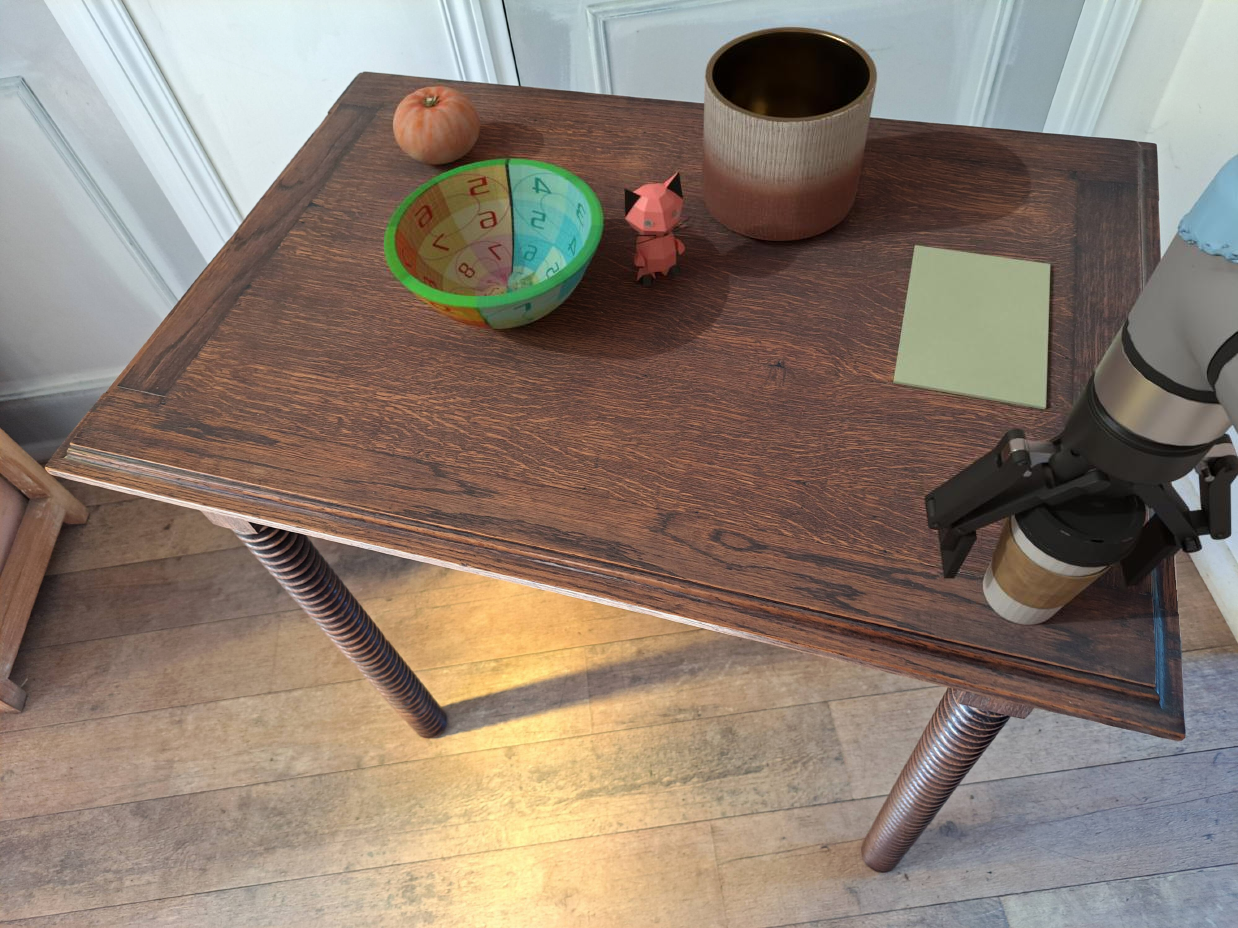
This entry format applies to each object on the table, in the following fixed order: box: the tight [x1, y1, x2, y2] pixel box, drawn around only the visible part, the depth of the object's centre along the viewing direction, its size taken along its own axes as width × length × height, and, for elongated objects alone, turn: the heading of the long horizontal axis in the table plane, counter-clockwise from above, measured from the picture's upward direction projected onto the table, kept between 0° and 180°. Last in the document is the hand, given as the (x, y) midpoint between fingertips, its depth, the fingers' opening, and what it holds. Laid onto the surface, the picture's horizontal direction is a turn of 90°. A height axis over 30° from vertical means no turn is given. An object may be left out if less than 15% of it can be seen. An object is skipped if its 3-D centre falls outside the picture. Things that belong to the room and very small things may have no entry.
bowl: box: [383, 158, 605, 330], centre depth 90 cm, size 22×22×10 cm
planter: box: [701, 26, 878, 242], centre depth 94 cm, size 18×18×16 cm
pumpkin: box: [392, 85, 481, 165], centre depth 107 cm, size 11×11×8 cm
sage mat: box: [893, 244, 1051, 411], centre depth 87 cm, size 20×14×1 cm
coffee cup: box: [982, 471, 1147, 626], centre depth 64 cm, size 8×8×15 cm
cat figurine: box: [624, 170, 693, 287], centre depth 90 cm, size 7×7×12 cm
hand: (1035, 567), depth 67 cm, fingers open, 13 cm apart
